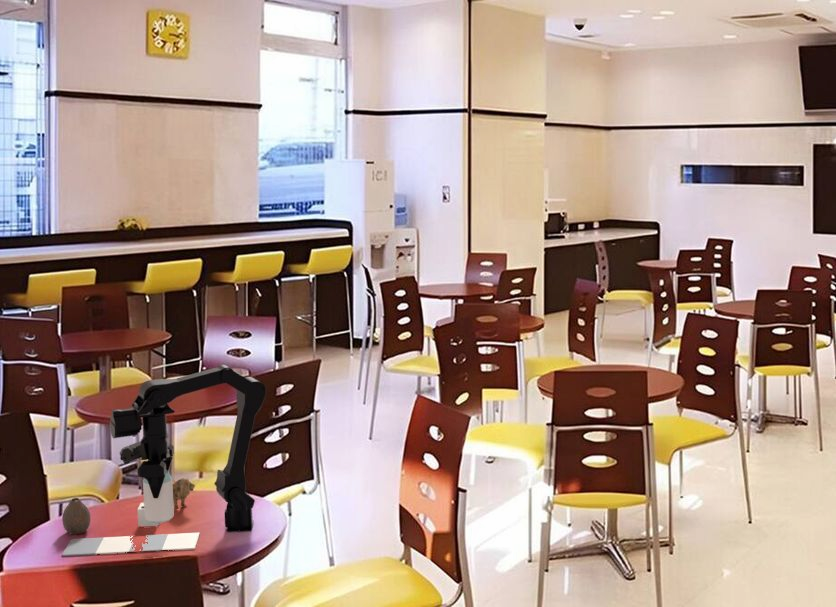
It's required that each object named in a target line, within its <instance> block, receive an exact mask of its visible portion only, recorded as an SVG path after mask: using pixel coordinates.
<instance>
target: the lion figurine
mask: <svg viewBox="0 0 836 607" xmlns="http://www.w3.org/2000/svg"><path fill="white" fill-rule="evenodd" d="M172 486H173V505H174V511H175V510H177V509H179V505H178V500H179V501H181V502H180V506H181V508H182V507H185V508H186V507H187V504H185V499H187V497H188V496H189V495H190V493H191V492H194V489H195V487H196V485H195V484H194V483H192V482H191V481H189V478H188V477H183V478H181V479H178V480H175V479H173V478H172ZM177 511H178V510H177Z"/></svg>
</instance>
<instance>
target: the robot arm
mask: <svg viewBox="0 0 836 607" xmlns="http://www.w3.org/2000/svg"><path fill="white" fill-rule="evenodd" d="M223 384H227V385H228V386H230V387H232V388H233V389H235V390H236V395H235V396H236V399H235V400H236V406H237V414H236V415H237V416H236V419H235V420H236V421H235V425H234V429H233V433H232V439H231V444H230V448H229V453H228V459H227V463H226V465H225V467H224V468H223V469H222V470H221V469H217V474H216V480H215V482H214V486H216V488H215V489H216V492H217V494H218V495H219V496H220V497H221V499H223V500H224V501H225V502H226V507H225V510H224V527H225V529H226V532H227V533H235V532H236V533H237V532H251V531H253V528H254V520H253V508H254V504H255V502H256V501H255V499H254V498H253V497H252V496H251V495H250V494H249V493H248V492H246V490H247V489H246V488H247V478H246V472H245V467H246V462H247V458H248V453H249V448H250V444H251V443H250V442H251V439H252V433H253V429H254V423H255V419H256V416H257V414H258V412H260V410H261V408H262V407H263V404H264V401H265V398H266V396H267V388H266V386H265V385H264V384H263V383H262V382H260V381H259V380H257V379H256V378H254V377H252V376H246V377H244V376H242V375H241V374H239V373H237V372H236V371H235V370H234V369H232V368H231V367H229V366H228V365H226V364H220V365H219V366H217V367H214V368H210V369H206V370H202V371H199V372H194V373H191V374H188V375H185V376H180V377H176V378H171V379H170V378H167V379H166V378H157V379H149V380H145V381H144V382H142V383H141V385H140V387H139V389H138V394H137V396H136V398H135V399H134V400H133V402H132V403H131V405H130V407H129V408H123V409H121V408H120V409H116V408H115V409H112V410H111V411H110V412H111V415H110V421H109V429H110V435H111V437H112V439H118V438H119V439H120V438H125V437H132V436H133V437H134V436H138V434H139V433H141V431H142V438H141V439H140V441H137V442H134V443H132V444H129V445H127V446H124V447H122V448H121V449H120V451H119V456H120V457H119V458H120V461H122V462H123V464H124V465H128V464H130V463H131V462H133V461H134V462H135V461H136V460H138V459H140V460H141V463H140V464H139V465H138V468H137V477H139V478H143V479H144V478H145V479H146V480H147V481H148V483H149V486H150V489H151V492H152V495H153V498H158V497H159V494H160V491H161V488H162V484H163V481H164V478H165V475H166V472H167V471H166V470H168V471H169V470H170V467H171V464H172V461H173V459H174V458H173V457H174V454H175V447H174V445H173V444H172V443H170V442H168V438H169V432H168V431H167V430H168V428H167V427H168V426H167V415H170V414H174V413H175V410H174V409H173V408H172V407H171V406H169V403H172V402H173V401H174V400H176V399H177V398H179V397H181V396H183V395H187V394H190V393H194V392H198V391H201V390H205V389H208V388H211V387H215V386H218V385H223Z"/></svg>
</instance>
